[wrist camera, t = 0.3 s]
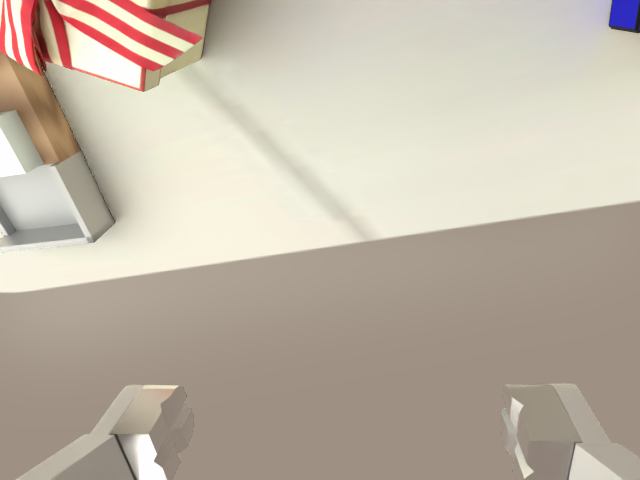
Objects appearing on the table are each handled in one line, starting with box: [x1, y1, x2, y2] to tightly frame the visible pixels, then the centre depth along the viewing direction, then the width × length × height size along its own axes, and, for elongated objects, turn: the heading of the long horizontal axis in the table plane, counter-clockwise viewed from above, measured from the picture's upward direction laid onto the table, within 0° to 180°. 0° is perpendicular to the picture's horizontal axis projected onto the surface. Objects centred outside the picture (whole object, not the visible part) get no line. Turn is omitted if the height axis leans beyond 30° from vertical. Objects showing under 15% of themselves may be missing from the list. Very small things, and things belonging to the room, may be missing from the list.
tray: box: [0, 151, 115, 253], centre depth 52 cm, size 10×15×5 cm, turn 100°
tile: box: [0, 110, 44, 177], centre depth 45 cm, size 6×5×3 cm
